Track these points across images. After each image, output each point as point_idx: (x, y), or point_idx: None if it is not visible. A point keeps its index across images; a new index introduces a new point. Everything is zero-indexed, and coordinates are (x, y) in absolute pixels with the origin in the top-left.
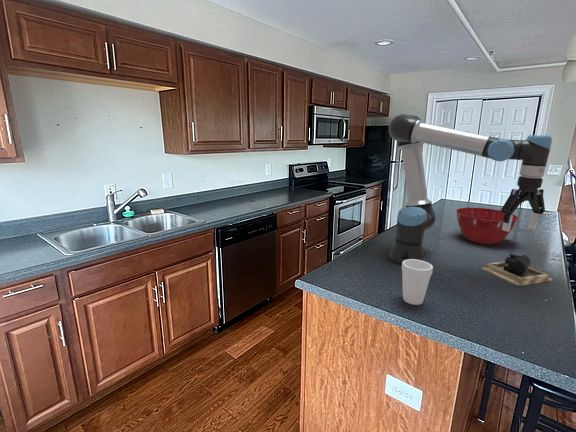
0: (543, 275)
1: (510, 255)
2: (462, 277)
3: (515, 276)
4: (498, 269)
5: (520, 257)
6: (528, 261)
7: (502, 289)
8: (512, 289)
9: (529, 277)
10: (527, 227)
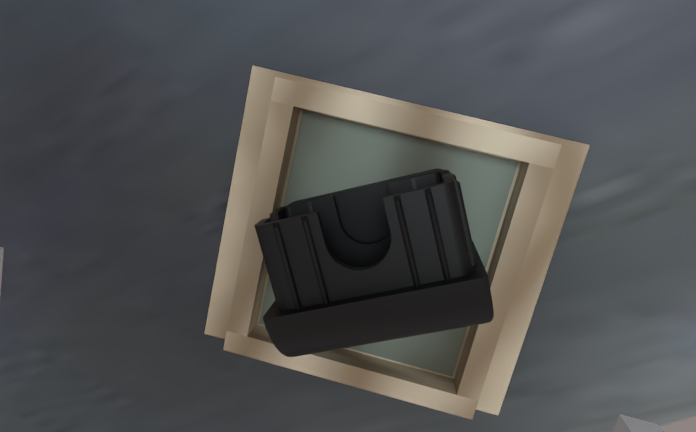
0: (427, 400)
1: (385, 206)
2: (6, 89)
3: (231, 309)
4: (256, 184)
5: (370, 299)
6: (422, 333)
7: (86, 303)
8: (138, 331)
9: (300, 364)
10: (624, 419)
